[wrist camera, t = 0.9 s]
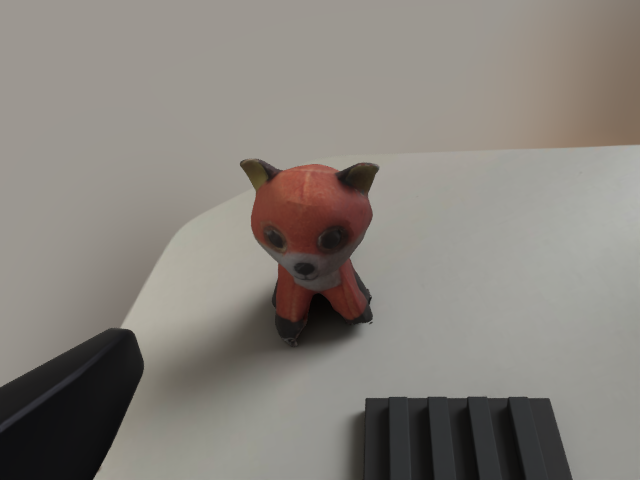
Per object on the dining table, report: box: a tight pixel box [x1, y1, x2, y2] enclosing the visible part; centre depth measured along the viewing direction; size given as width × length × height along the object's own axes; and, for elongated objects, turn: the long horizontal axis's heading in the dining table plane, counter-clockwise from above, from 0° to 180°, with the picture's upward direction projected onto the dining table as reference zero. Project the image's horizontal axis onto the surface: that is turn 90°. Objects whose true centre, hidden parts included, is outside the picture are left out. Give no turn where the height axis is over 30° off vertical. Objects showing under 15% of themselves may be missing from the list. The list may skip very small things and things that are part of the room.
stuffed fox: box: [240, 159, 379, 347], centre depth 34 cm, size 8×11×12 cm
